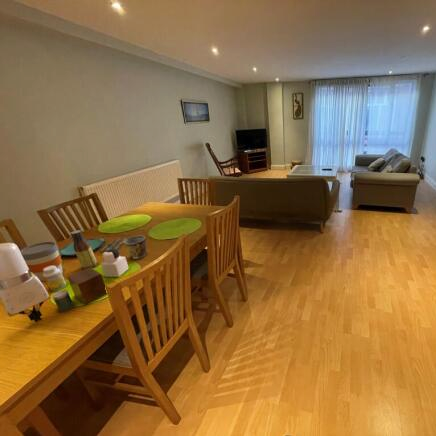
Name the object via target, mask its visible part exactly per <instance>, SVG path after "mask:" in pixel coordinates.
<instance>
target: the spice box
mask: <svg viewBox="0 0 436 436" xmlns="http://www.w3.org/2000/svg"><path fill="white" fill-rule="evenodd" d="M66 279H67V280H68V283H69V285H70V287H71V290H72V292H73V295H74V297H76V298H77V299H78V300H79V301H81V302H82V303H84V304H85V305H88V304H90V303H93V302H94V301H96V300H98V299H100V298H102V297H103V296H105V295H108V293H106V290H105V286H106V283H105V281H104V278H103V275H102V273H100V272H99V271H97V270H96V269H93V267H92V268H90V267H89V268H87V269H84V268H83V269H81V270H79V271H77V272H74V273H72V274H70V275H68V276H66Z"/></svg>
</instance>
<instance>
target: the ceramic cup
mask: <svg viewBox="0 0 436 436" xmlns="http://www.w3.org/2000/svg"><path fill="white" fill-rule="evenodd" d="M146 240H147V239H146V236H144V235H134V236H130V237H128V238H126V240H125V241H124V242H123V244H124V246H125V248H126V249H127V251H128V253H129V254H130V256H131V258H132V259H134V260H138V259H142V258H144V257H145V256H146V255H147V241H146Z"/></svg>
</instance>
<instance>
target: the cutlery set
mask: <svg viewBox="0 0 436 436" xmlns="http://www.w3.org/2000/svg"><path fill="white" fill-rule="evenodd" d="M126 239H127V237H124V238H123V239H122V240H121V238H120V237H118V238H117V240H115V238H113V239H112V240H111V241H110V242H107V244H106V245H105V246H104V247H103V248H102V249H101V252H104V251H105V249H106V251H107V250H110V249H117V250H118V249H119V248H120V247H121V245H122V244H124V241H125V240H126ZM85 240H87V241H88V242H89V245H90V246H91V249H92V251H93V252H94V251H95V250H97V249H99V248H100V247H102V246H103V245H104V243H105V242H106V240H105V239H103V238H85ZM120 240H121V241H120ZM114 241H115V242H114ZM119 241H120V242H119ZM113 242H114V243H113ZM118 242H119V243H118ZM112 243H113V244H112ZM117 243H118V244H117ZM111 244H112V245H111ZM58 252H59V253H60V256H61V258H62V257H63V256H66V257H72V256H77V255H76V253H75V250H74V242H71V243H69V244H67V245H66V246H63V247H62V248H61V249H60V250H58Z"/></svg>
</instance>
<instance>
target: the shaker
mask: <svg viewBox="0 0 436 436" xmlns="http://www.w3.org/2000/svg"><path fill="white" fill-rule="evenodd" d="M70 295H71V294H69V291H68V290H67V289H60V290H57V291H56V292H55V293H53V294H52V299H53V301H54V303H55V306H56V307H57V309H58V311H59V312H67V311H69V310H70V309H73V307H74V302H73V300H72V298H71V296H70Z"/></svg>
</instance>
